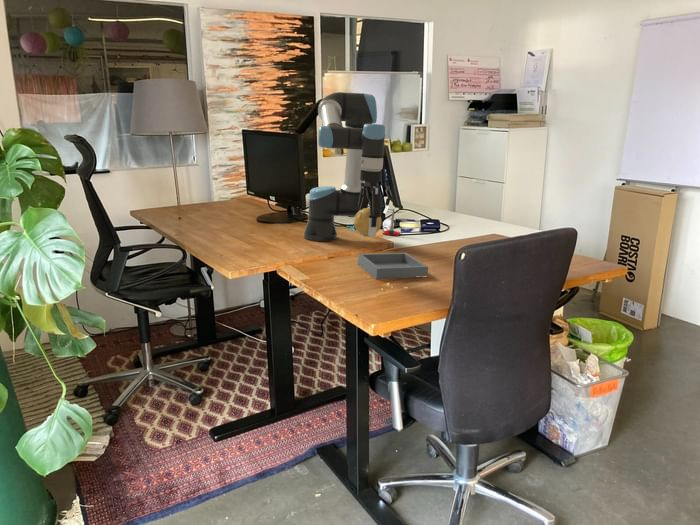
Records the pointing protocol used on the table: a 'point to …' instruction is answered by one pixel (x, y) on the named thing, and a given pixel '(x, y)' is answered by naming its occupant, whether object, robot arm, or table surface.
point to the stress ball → (364, 221)
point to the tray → (392, 265)
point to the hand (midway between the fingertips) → (367, 232)
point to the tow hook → (391, 228)
